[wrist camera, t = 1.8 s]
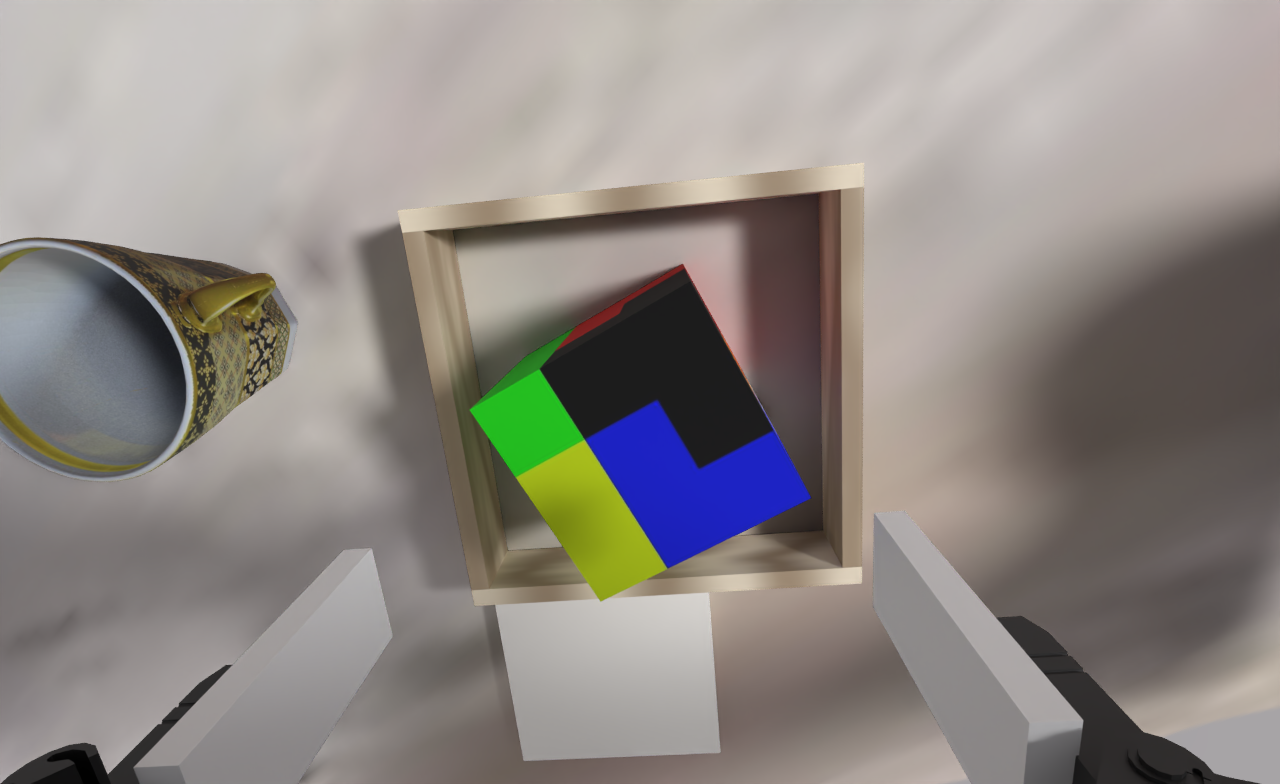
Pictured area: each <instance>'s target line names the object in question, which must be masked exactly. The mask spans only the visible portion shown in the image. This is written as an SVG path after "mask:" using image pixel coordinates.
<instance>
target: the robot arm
mask: <svg viewBox="0 0 1280 784" xmlns="http://www.w3.org/2000/svg"><path fill="white" fill-rule="evenodd" d="M873 608H874V610H875V612H876V613H877V615H878V617H879V619H880V621H881V622H882V624H883V626H884V628H885V630H886V631H887V633H888V635H889V637H890V639H891V640H892V642H893V644H894V646H895V648H896V649H897V651H898V653H899V655H900V657H901V658H902V660H903V662H904V664H905V666H906V667H907V669H908V671H909V673H910V674H911V676H912V678H913V680H914V682H915V683H916V685H917V687H918V689H919V691H920V692H921V694H922V696H923V698H924V700H925V701H926V703H927V705H928V707H929V709H930V710H931V712H932V714H933V716H934V718H935V719H936V721H937V723H938V725H939V727H940V728H941V730H942V732H943V734H944V736H945V737H946V739H947V741H948V743H949V745H950V746H951V748H952V750H953V752H954V754H955V755H956V757H957V759H958V761H959V763H960V764H961V766H962V768H963V770H964V772H965V773H966V775H967V777H968V779H969V781H970V782H971V784H1259V783H1254V782H1249V781H1244V780H1239V779H1234V778H1229V777H1225V776H1221V775H1218V774H1214V773H1213V772H1212V771H1211V769H1210V768H1209V767H1208V766H1207V765H1206V764H1205V762H1203V761H1202V760H1201V759H1199V758H1198V757H1196V756H1195V755H1194V754H1192V753H1191V752H1189V751H1188V750H1186V749H1185V748H1183V747H1181V746H1179V745H1177V744H1175V743H1173V742H1171V741H1169V740H1167V739H1165V738H1162V737H1159V736H1155V735H1151V734H1148V733H1144V732H1143V731H1142V730H1141V729H1140V728H1139V727H1138V726H1137V725H1136V724H1135V723H1134V722H1133V721H1132V720H1131V719H1130V718H1129V717H1128V716H1127V715H1126V714H1125V713H1124V711H1123V710H1122V709H1121V708H1120V707H1119V706H1118V705H1117V704H1116V703H1115V702H1114V701H1113V700H1112V699H1111V698H1110V697H1109V696H1108V695H1107V694H1106V693H1105V691H1104V690H1103V689H1102V688H1101V687H1100V686H1099V685H1098V684H1097V683H1096V682H1095V681H1094V680H1093V679H1092V678H1091V677H1090V676H1089V675H1088V674H1087V673H1084V672H1083V668H1082V667H1081V666H1080V665H1079V664H1078V663H1077V662H1076V661H1075V660H1074V659H1073V658H1072V657H1071V656H1068V654H1067V651H1066V650H1065V649H1064V648H1063V647H1062V646H1061V645H1060V644H1059V643H1058V642H1057V641H1056V640H1055V639H1054V638H1053V637H1052V636H1051V635H1050V634H1049V633H1048V632H1047V631H1045V630H1044V629H1042V628H1040V627H1039V626H1037V625H1035V624H1034V623H1032V622H1030V621H1029V620H1027V619H1026V618H1024V617H1022V616H1018V617H1001V618H996V617H995V616H994V615H993V614H992V613H991V611H990V610H989V609H988V608H987V607H986V606H985V604H984V603H983V602H982V601H981V600H980V598H979V597H978V596H977V595H976V594H975V593H974V591H973V590H972V589H971V588H970V587H969V586H968V584H967V583H966V582H965V581H964V580H963V579H962V577H961V576H960V575H959V574H958V573H957V572H956V570H955V569H954V568H953V567H952V566H951V564H950V563H949V562H948V561H947V560H946V559H945V557H944V556H943V555H942V554H941V553H940V552H939V550H938V549H937V548H936V547H935V546H934V545H933V543H932V542H931V541H930V540H929V539H928V538H927V536H926V535H925V534H924V533H923V532H922V530H921V529H920V528H919V527H918V526H917V525H916V523H915V522H914V521H913V520H912V519H911V518H910V516H909V515H908V514H907V513H906V512H905V511H894V512H880V513H874V548H873ZM392 637H393V634H392V630H391V626H390V622H389V618H388V613H387V609H386V605H385V601H384V597H383V593H382V588H381V584H380V580H379V576H378V572H377V568H376V564H375V559H374V555H373V551H372V548H363V549H349V550H343V551H342V552H341V553H340V554H339V555H338V556H337V557H336V558H335V560H334V561H333V562H332V563H331V564H330V565H329V566H328V567H327V568H326V569H325V570H324V571H323V572H322V573H321V574H320V575H319V576H318V577H317V578H316V579H315V580H314V581H313V582H312V583H311V584H310V585H309V586H308V587H307V588H306V590H305V591H304V592H303V593H302V594H301V595H300V596H299V597H298V598H297V599H296V600H295V601H294V602H293V603H292V604H291V605H290V606H289V607H288V608H287V609H286V610H285V611H284V612H283V613H282V614H281V615H280V616H279V617H278V619H277V620H276V621H275V622H274V623H273V624H272V625H271V626H270V627H269V628H268V629H267V630H266V631H265V632H264V633H263V634H262V635H261V636H260V637H259V638H258V639H257V640H256V641H255V642H254V643H253V644H252V645H251V646H250V647H249V649H248V650H247V651H246V652H245V653H244V654H243V655H242V656H241V657H240V658H239V659H238V660H237V661H236V662H235V663H234V664H233V665H225V666H224V667H222V668H221V669H220V670H218V671H217V672H215V673H214V674H212V675H211V676H209V677H208V678H206V679H205V680H203V681H202V682H200V683H199V684H198V685H197V686H196V687H195V688H194V689H193V690H192V691H191V692H190V693H189V694H188V695H187V696H186V697H185V698H184V699H183V700H182V701H181V702H180V703H179V707H175V708H174V709H173V710H172V711H171V712H170V713H169V714H168V715H167V716H166V717H165V718H164V719H163V720H162V724H158V725H157V726H156V727H155V728H154V729H153V730H152V731H151V732H150V733H149V734H148V735H147V736H146V737H145V738H144V739H143V740H142V741H141V742H140V743H139V744H138V745H137V746H136V747H135V748H134V749H133V750H132V751H131V752H130V753H129V754H128V755H127V756H126V757H125V758H124V759H123V760H122V761H121V762H120V763H119V764H118V765H117V766H116V767H115V768H114V769H113V770H112V771H111V772H110V773H109V774H108V775H107V772H106V770H105V767H104V765H103V763H102V760H101V758H100V756H99V753H98V751H97V748H96V746H95V745H91V744H88V743H81V744H73V745H68V746H65V747H62V748H59V749H57V750H54V751H51V752H49V753H47V754H45V755H43V756H41V757H39V758H37V759H35V760H33V761H31V762H29V763H27V764H26V765H24V766H23V767H22V768H20V769H19V770H17V771H16V772H14V773H13V774H11V775H10V776H8V777H7V778H6V779H5V780H4V781H3V782H2V783H1V784H298V782H299V781H300V779H301V778H302V776H303V775H304V773H305V771H306V770H307V768H308V767H309V765H310V764H311V762H312V761H313V759H314V758H315V756H316V754H317V753H318V751H319V750H320V748H321V747H322V745H323V744H324V742H325V741H326V739H327V737H328V736H329V734H330V733H331V731H332V730H333V728H334V727H335V725H336V723H337V722H338V720H339V719H340V717H341V716H342V714H343V713H344V711H345V710H346V708H347V706H348V705H349V703H350V702H351V700H352V699H353V697H354V696H355V694H356V693H357V691H358V689H359V688H360V686H361V685H362V683H363V682H364V680H365V679H366V677H367V675H368V674H369V672H370V671H371V669H372V668H373V666H374V665H375V663H376V662H377V660H378V658H379V657H380V655H381V654H382V652H383V651H384V649H385V648H386V646H387V645H388V643H389V641H390V640H391V638H392Z"/></svg>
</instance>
